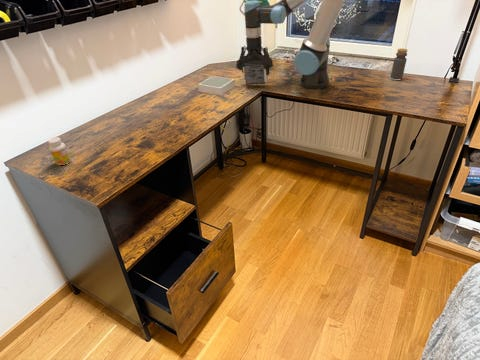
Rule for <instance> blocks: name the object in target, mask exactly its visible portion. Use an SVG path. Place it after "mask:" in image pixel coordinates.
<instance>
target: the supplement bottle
mask: <svg viewBox="0 0 480 360" xmlns="http://www.w3.org/2000/svg"><path fill="white" fill-rule="evenodd" d="M48 144H49V148H48V150H49V152H50V154H51V156H52V159H53V161H54V163H55V165H56V164H57V165H65V164H67V165H69V164H70V163H71V162H72V158H71V156H70V153H69V150H68V148H67V146H66V143H64V142H62V139H61V137H58V136H57V137H55V136H54V137H52V138H50V139H48ZM70 161H71V162H70ZM69 162H70V163H69ZM68 163H69V164H68ZM57 165H56V166H57ZM65 166H66V165H65Z"/></svg>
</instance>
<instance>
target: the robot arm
mask: <svg viewBox="0 0 480 360" xmlns="http://www.w3.org/2000/svg"><path fill="white" fill-rule="evenodd" d="M309 1H310V0H279V1H278V2H276V3H274V4H272V5H271V4H270V6H261V4H260V1H256V0H255V1H247V2H246V3H244V4H243V5H244V6H243V8H244V10H243V13H244V14H245V16H244V23H245V36H246V37H245V40H246V45H243V46H241V47H240V50H241V51H240V55H239V59H238V60H239V62H238V65H240V66H241V67H242V70H241V73H243V74H242V75H243V80H245V81H246V78H245V66H244V65H245V63H246V62H247V61H248V59H249V58H250V56H257V57H258V58H259V59H260V61H261V62H262V64H263V65H264V67H265V69H264V80H265V82H267V81H269V75H270V69H271V68H273V67H274V64H273V65H272V62H273V61H272V62H271V60H272V59H270V58H271V57H270V54H269V51H268V47H267V46H265V47H263V46H262V44H263V42H262V24H263V25H265V24H267V25H268V24H271V25H272V24H273V25H278V24H279V25H280V24H281V25H282V24H283V23H284V22H285V20H286V18H287V17H288V16H290V15H291V14H292V13H294V12H295V11H297V10H298V9H299V8H301V7H302V6H304V5H305V4H306V3H307V2H309ZM344 3H345V0H322V1H321V3H320V5H319V6H320V7H319V8H318V12H317V13H316V16H315V18H314V21H313V24H312V25H311V26H312V27H311V29H310V32H309V34H308V37H306V38H304V39H303V41H302V43H301V46H300V48H299V51H298V52H297V53H296V54H295V56H294V58H293V59H294V60H293V65H294V68H295V69H296V71H297V72H298V73H299V74H301V77H300V80H299V85H300V86H301V87H303V88H305V89H309V90H319V88H321V89H325V88H327V87H329V85H330V77H329V73H328V64H329V56H330V55H329V54H330V47H331V46H330V45H331V41H330V39H329V37H330V35H331V33H332V30H333V28H334V26H335V24H336V22H337V19H338V16H339V15H340V12H341V10H342V8H343V5H344ZM246 51H247V53H246ZM259 54H260V55H259ZM263 55H264V56H265V58H264V57H263ZM244 56H246V58H245V59H244ZM243 59H244V61H243ZM265 59H266V60H265ZM242 62H243V63H242ZM324 87H325V88H324Z"/></svg>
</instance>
